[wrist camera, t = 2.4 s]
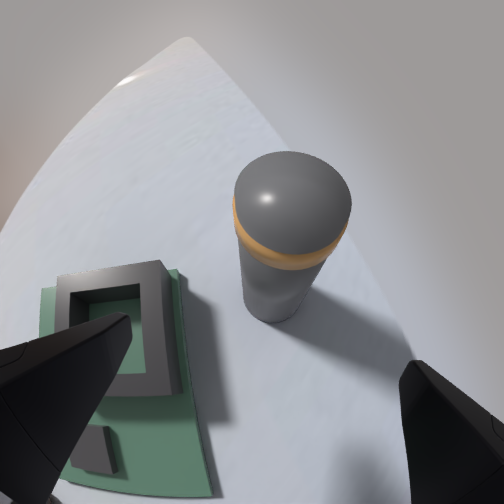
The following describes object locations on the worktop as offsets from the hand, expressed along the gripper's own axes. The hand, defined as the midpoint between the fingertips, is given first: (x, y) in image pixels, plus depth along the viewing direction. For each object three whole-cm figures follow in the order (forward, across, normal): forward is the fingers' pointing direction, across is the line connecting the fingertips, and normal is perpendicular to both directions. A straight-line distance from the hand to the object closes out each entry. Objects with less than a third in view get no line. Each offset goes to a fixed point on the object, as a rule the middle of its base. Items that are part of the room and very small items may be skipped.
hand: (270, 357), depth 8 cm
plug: (+13, 0, +5) cm, 14 cm away
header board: (+5, +11, +12) cm, 17 cm away
